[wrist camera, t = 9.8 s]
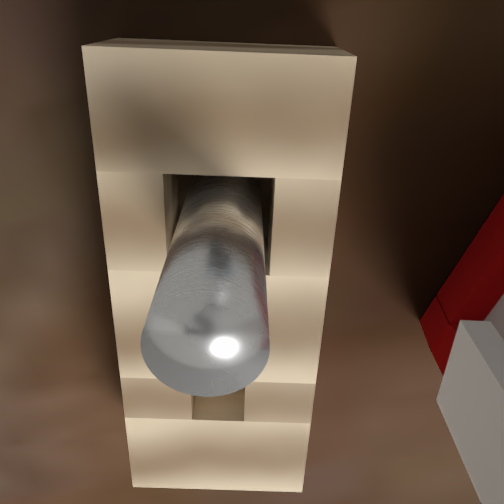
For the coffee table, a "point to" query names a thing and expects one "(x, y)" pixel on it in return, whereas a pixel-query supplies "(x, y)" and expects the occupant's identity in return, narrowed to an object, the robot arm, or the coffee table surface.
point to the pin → (211, 293)
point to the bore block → (274, 234)
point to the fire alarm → (470, 290)
